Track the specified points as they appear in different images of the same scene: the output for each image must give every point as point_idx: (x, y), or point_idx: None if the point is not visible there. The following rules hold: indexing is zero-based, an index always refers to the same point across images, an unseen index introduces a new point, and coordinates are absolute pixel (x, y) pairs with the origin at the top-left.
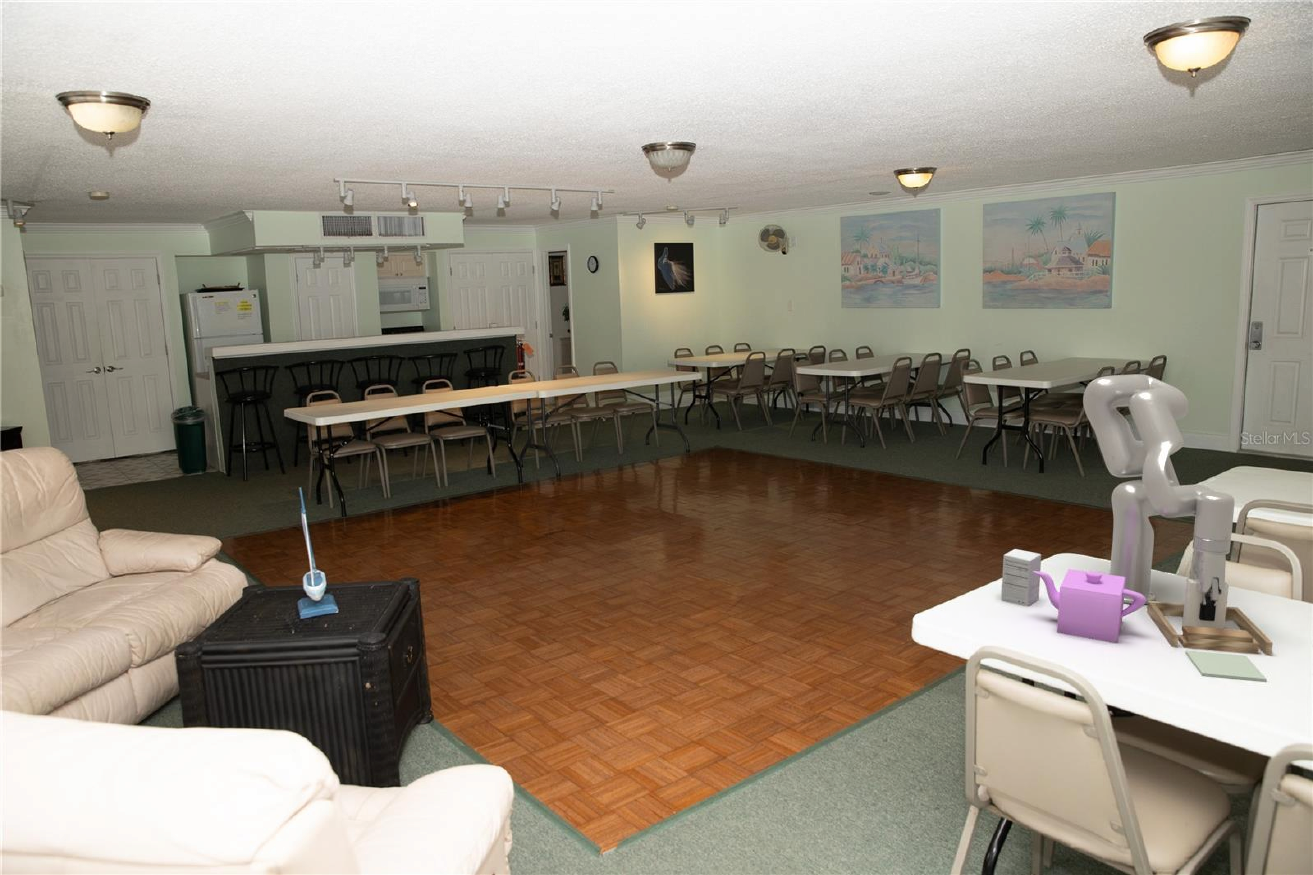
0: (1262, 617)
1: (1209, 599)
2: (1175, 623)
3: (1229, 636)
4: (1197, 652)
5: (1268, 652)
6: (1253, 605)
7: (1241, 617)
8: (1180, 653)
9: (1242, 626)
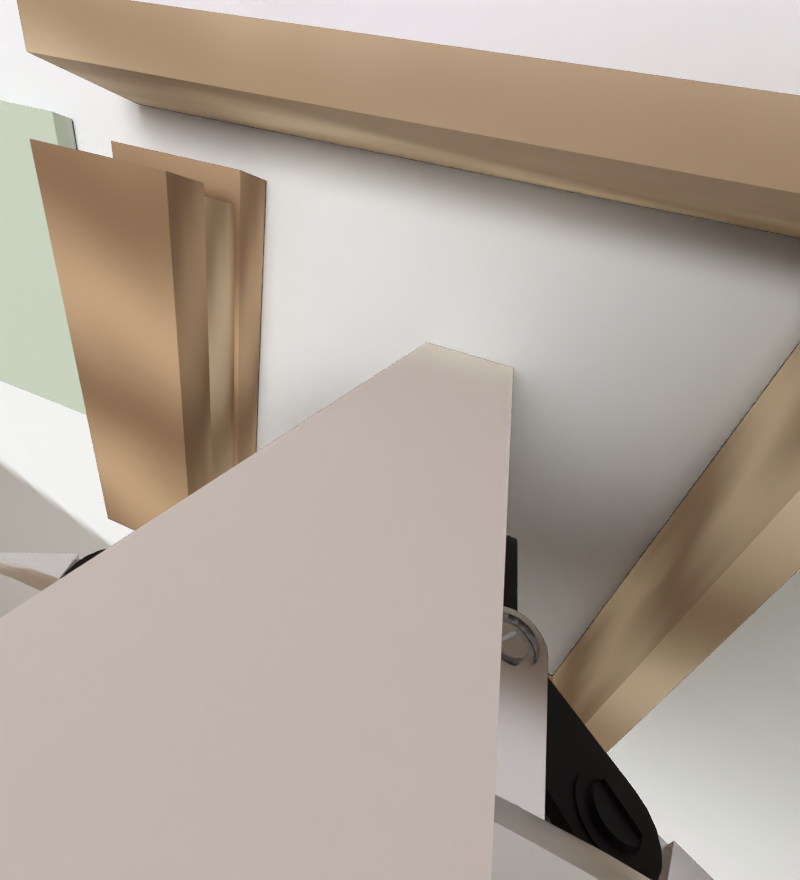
0: None
1: (73, 565)
2: (565, 340)
3: (89, 420)
4: None
5: None
6: (729, 875)
7: None
8: (55, 76)
9: None
